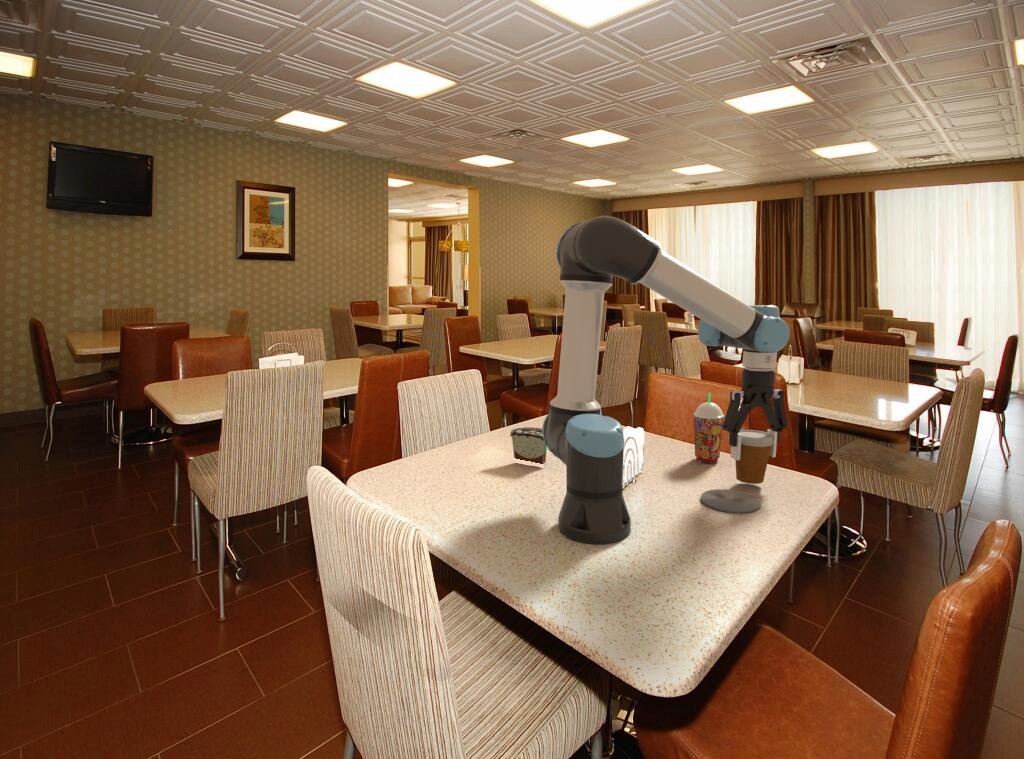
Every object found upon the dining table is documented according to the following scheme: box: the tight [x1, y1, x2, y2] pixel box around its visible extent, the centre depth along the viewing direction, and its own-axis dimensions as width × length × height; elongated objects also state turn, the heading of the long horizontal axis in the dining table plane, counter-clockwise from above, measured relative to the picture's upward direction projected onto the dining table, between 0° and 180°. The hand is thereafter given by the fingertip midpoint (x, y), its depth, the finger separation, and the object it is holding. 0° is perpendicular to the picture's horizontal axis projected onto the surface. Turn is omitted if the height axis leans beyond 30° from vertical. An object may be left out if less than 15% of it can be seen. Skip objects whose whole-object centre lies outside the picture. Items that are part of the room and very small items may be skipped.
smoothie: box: [693, 392, 725, 464], centre depth 161 cm, size 8×8×20 cm
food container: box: [509, 426, 548, 464], centre depth 162 cm, size 12×6×10 cm, turn 58°
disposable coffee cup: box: [734, 429, 774, 485], centre depth 140 cm, size 10×10×12 cm
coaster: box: [700, 488, 761, 514], centre depth 131 cm, size 13×13×1 cm
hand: (753, 457), depth 140 cm, fingers closed on disposable coffee cup, 9 cm apart
